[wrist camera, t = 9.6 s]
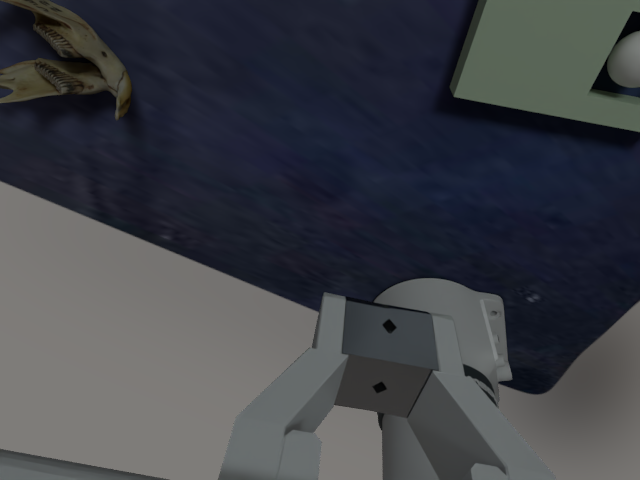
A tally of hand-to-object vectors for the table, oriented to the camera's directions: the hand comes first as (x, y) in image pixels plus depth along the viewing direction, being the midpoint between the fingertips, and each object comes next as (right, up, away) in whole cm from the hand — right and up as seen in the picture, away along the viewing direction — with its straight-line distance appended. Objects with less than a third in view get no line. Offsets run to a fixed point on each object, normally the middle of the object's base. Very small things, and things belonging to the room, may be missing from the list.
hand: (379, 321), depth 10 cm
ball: (+23, +15, +22) cm, 35 cm away
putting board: (+19, +17, +23) cm, 35 cm away
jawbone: (-23, +19, +28) cm, 41 cm away
